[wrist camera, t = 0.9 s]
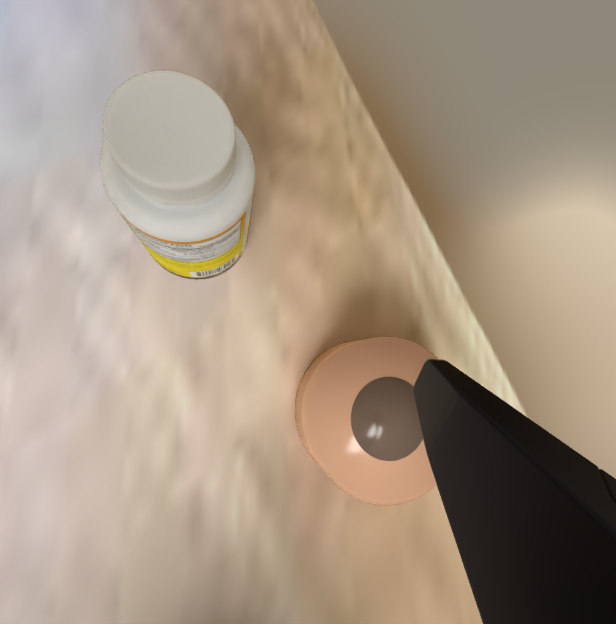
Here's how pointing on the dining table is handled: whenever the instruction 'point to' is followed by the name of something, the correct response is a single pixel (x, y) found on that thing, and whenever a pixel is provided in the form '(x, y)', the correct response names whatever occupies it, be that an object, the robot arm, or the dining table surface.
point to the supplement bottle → (179, 172)
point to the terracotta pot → (367, 419)
